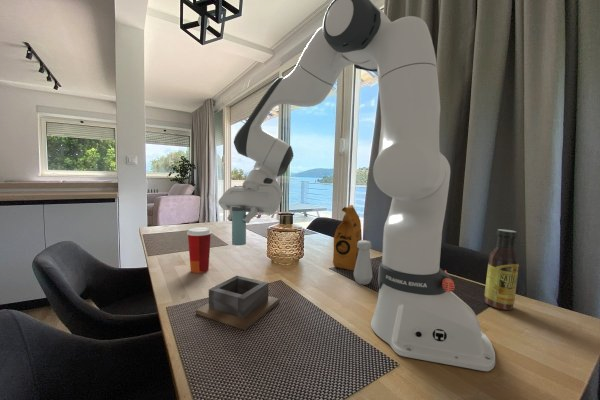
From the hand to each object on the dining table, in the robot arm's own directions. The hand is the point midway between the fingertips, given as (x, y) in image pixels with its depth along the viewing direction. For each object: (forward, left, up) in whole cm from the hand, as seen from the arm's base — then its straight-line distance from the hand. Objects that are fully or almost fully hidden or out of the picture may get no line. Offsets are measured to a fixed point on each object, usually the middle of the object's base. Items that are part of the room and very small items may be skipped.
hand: (237, 220), depth 77 cm
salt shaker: (-33, -20, -19) cm, 43 cm away
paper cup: (+18, -3, -19) cm, 26 cm away
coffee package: (-24, -34, -19) cm, 45 cm away
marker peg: (0, -1, -7) cm, 7 cm away
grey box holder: (-10, +11, -19) cm, 24 cm away
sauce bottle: (-68, -22, -19) cm, 74 cm away
